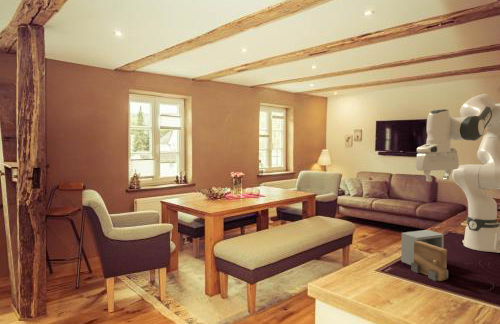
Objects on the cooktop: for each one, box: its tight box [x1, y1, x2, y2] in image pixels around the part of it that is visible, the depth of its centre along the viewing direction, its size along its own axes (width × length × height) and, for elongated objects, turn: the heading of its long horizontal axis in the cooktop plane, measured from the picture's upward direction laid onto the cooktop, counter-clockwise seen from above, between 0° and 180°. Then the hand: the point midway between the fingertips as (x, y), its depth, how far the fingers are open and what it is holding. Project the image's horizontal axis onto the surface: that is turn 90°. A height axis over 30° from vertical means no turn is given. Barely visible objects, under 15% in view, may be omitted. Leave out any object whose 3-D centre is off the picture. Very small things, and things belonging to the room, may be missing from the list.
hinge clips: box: [410, 263, 449, 282], centre depth 128 cm, size 6×11×3 cm, turn 19°
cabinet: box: [400, 229, 445, 266], centre depth 141 cm, size 14×8×12 cm, turn 109°
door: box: [414, 241, 448, 282], centre depth 128 cm, size 4×12×11 cm, turn 19°
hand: (437, 180), depth 144 cm, fingers open, 8 cm apart
